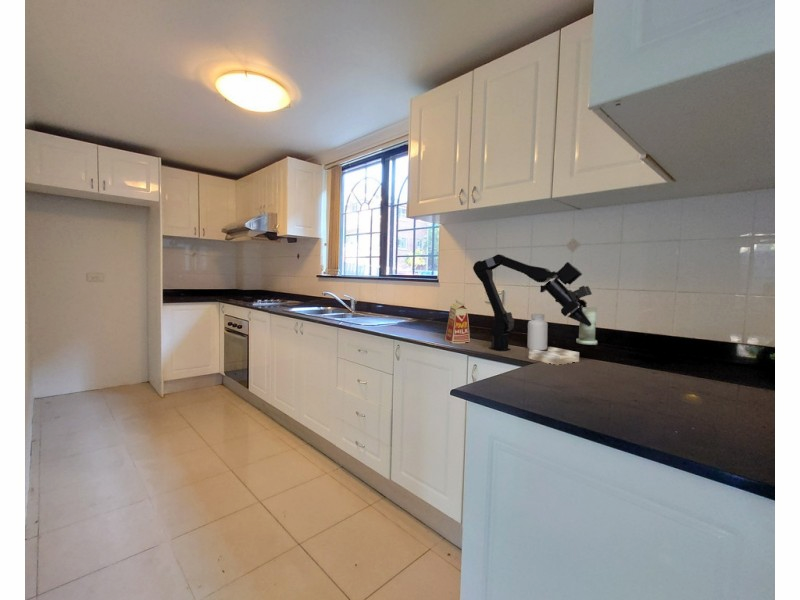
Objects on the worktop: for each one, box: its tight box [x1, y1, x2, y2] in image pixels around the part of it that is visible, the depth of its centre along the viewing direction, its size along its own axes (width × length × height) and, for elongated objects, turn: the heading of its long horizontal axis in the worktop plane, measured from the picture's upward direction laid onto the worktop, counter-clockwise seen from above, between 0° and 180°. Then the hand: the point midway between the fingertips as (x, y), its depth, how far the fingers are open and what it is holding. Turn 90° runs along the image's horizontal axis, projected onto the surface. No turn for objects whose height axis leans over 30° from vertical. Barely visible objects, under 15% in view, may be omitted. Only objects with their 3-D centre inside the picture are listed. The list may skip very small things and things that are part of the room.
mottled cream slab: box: [528, 346, 580, 366], centre depth 125 cm, size 12×12×4 cm
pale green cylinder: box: [575, 306, 598, 346], centre depth 125 cm, size 7×7×13 cm
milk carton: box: [444, 299, 470, 344], centre depth 161 cm, size 9×9×20 cm
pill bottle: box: [526, 313, 549, 351], centre depth 147 cm, size 8×8×15 cm
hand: (591, 324), depth 124 cm, fingers closed on pale green cylinder, 5 cm apart
